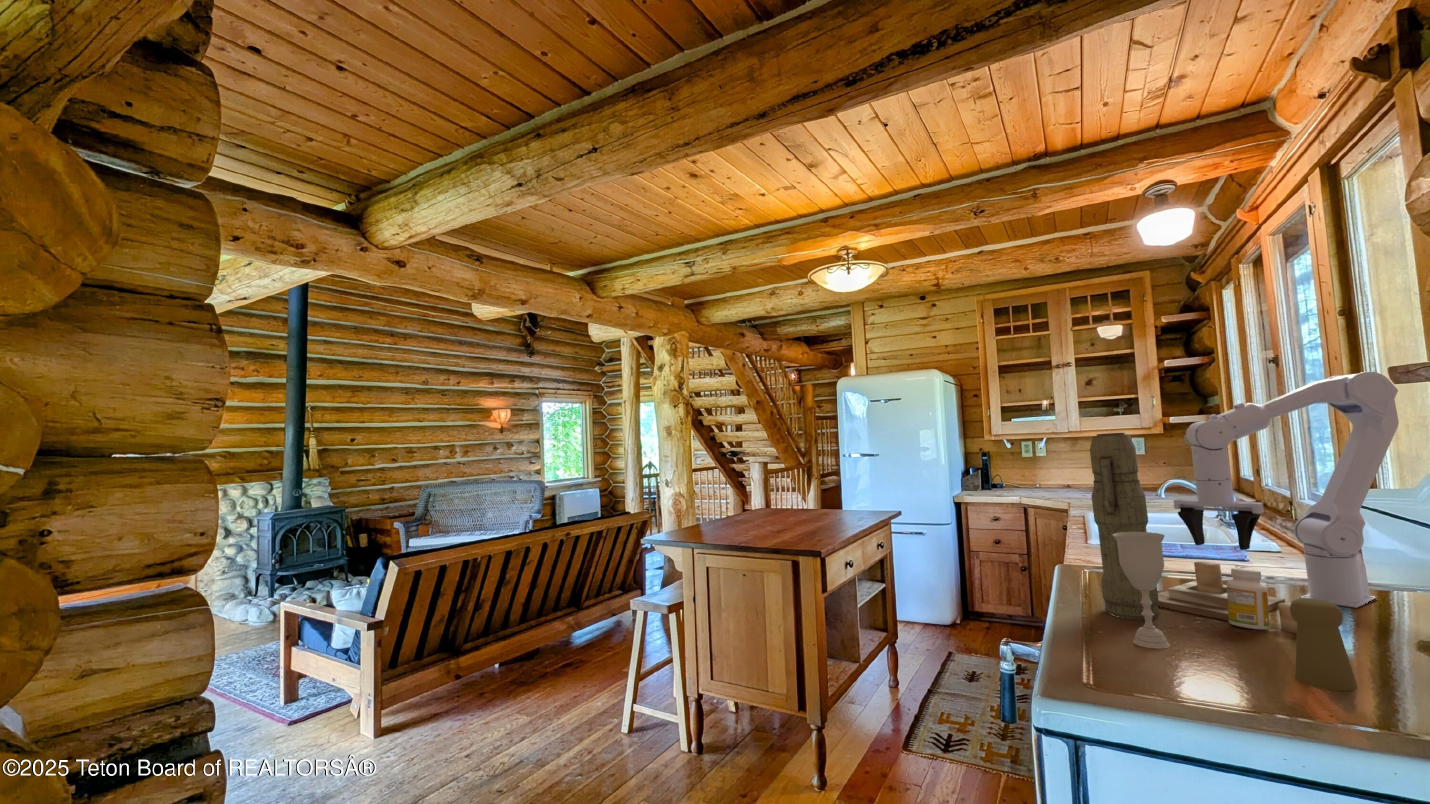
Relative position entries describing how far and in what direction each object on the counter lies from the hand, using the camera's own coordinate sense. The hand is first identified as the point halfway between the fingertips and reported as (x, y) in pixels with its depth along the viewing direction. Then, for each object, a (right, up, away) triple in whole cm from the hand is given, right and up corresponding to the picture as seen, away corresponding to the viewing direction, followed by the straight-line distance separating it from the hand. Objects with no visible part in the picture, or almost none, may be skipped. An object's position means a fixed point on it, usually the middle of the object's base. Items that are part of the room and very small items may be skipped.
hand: (1221, 546), depth 121 cm
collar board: (-5, -11, -3) cm, 12 cm away
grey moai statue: (-22, -12, -5) cm, 25 cm away
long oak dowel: (-5, -11, -3) cm, 12 cm away
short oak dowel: (-4, -9, -19) cm, 22 cm away
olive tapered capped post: (-19, -9, -39) cm, 44 cm away
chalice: (-30, -11, -21) cm, 38 cm away
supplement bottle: (-9, -10, -16) cm, 21 cm away
